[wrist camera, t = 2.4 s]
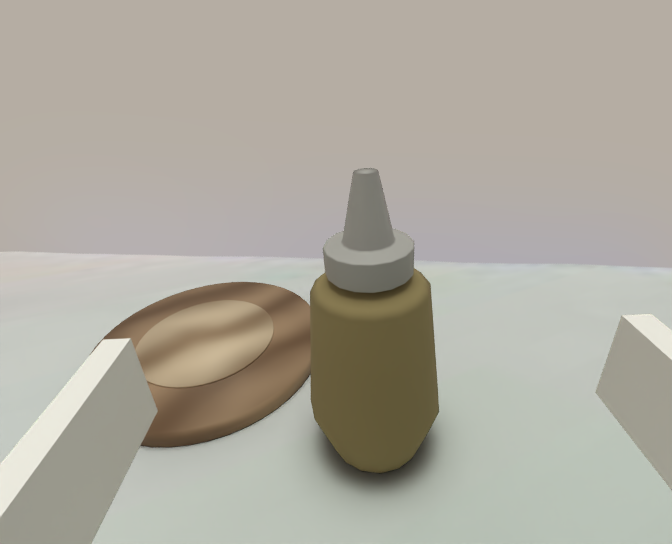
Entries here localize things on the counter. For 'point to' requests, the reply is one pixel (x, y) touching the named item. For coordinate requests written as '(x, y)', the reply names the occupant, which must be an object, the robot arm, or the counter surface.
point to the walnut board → (219, 358)
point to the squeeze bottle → (372, 338)
